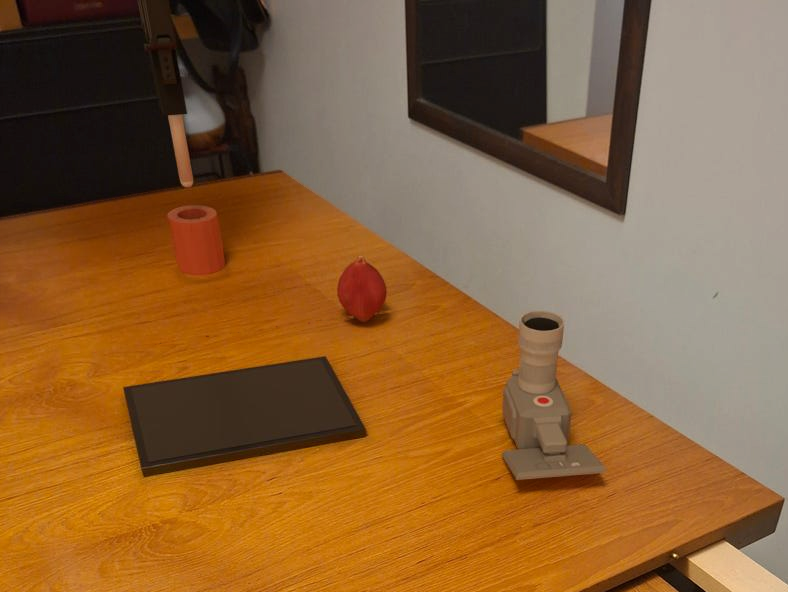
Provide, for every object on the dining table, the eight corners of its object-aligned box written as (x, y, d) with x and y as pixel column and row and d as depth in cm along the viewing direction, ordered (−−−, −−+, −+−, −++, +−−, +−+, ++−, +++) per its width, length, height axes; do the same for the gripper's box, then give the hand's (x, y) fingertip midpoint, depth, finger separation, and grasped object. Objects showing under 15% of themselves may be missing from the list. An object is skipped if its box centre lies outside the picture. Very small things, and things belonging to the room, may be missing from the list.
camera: (577, 303, 88) (621, 381, 78) (564, 408, 97) (603, 491, 86) (490, 307, 87) (523, 388, 77) (485, 413, 95) (515, 499, 85)
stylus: (180, 185, 112) (152, 33, 101) (193, 184, 112) (167, 32, 101) (182, 189, 111) (154, 36, 100) (195, 188, 111) (169, 36, 100)
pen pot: (175, 262, 120) (164, 207, 115) (221, 257, 122) (212, 203, 117) (182, 280, 116) (170, 225, 111) (229, 275, 118) (220, 219, 113)
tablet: (125, 395, 96) (122, 386, 95) (326, 363, 102) (325, 355, 101) (143, 477, 85) (140, 467, 85) (366, 436, 91) (365, 427, 91)
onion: (330, 319, 110) (324, 253, 104) (367, 306, 113) (363, 241, 107) (359, 336, 107) (354, 269, 101) (396, 322, 110) (394, 256, 104)
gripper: (172, -149, 85) (216, 126, 102) (152, -162, 95) (195, 92, 111) (89, -149, 83) (148, 132, 100) (77, -162, 93) (133, 96, 109)
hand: (173, 110), depth 106 cm, fingers closed on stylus, 2 cm apart
